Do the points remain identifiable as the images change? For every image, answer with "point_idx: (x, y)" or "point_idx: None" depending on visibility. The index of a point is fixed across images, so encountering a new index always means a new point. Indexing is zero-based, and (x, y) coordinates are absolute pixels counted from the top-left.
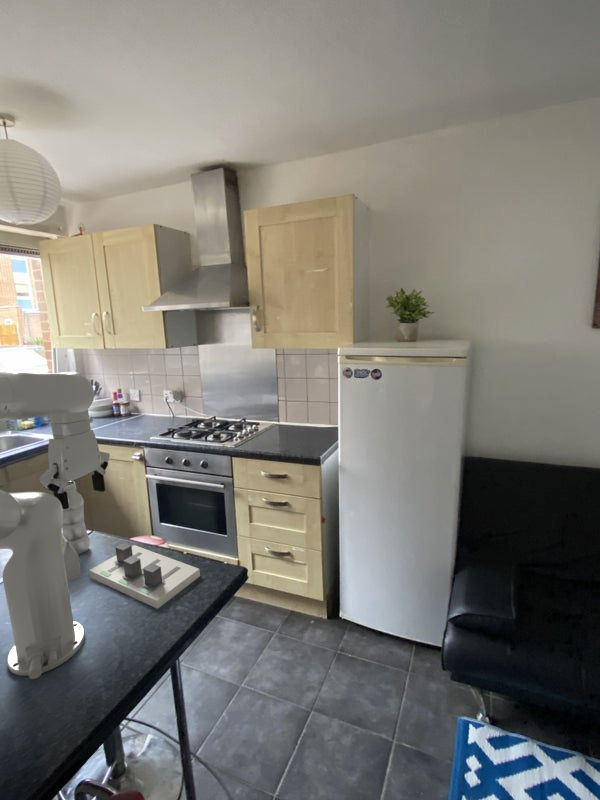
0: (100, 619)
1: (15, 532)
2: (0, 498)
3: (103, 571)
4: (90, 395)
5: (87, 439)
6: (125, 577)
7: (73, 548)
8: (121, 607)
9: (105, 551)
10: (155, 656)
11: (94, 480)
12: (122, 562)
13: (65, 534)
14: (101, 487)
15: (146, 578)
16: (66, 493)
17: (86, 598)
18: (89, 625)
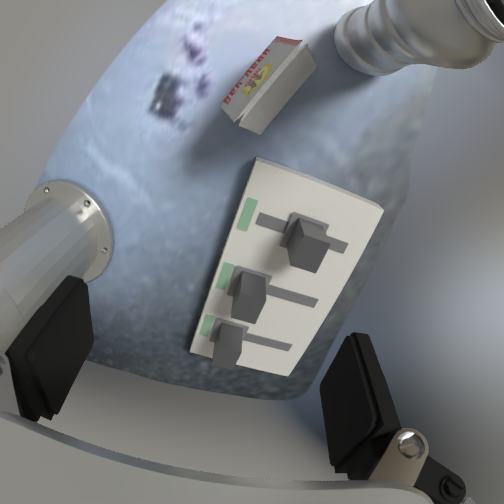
0: (142, 269)
1: None
2: None
3: (255, 203)
4: None
5: None
6: (234, 276)
7: (276, 107)
8: (178, 286)
9: (376, 121)
10: (119, 366)
11: (353, 407)
12: (290, 238)
13: (356, 22)
14: (324, 404)
15: (218, 337)
16: (55, 411)
17: (183, 202)
18: (124, 260)
